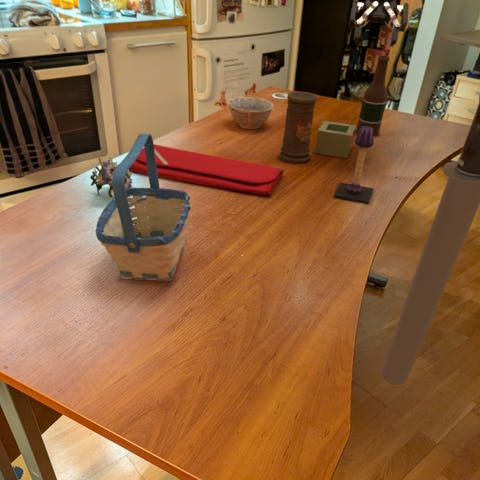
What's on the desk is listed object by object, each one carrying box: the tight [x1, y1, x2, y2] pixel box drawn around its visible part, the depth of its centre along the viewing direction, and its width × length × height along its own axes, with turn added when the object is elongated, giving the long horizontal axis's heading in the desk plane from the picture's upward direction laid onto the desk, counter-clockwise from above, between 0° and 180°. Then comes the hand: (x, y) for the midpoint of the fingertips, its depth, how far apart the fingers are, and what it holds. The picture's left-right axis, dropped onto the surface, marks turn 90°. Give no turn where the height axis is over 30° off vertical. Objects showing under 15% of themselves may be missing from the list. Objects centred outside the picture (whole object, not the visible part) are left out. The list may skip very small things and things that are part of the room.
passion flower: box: [89, 157, 134, 199], centre depth 114 cm, size 11×11×12 cm
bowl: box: [227, 96, 275, 130], centre depth 160 cm, size 16×16×8 cm
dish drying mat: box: [128, 143, 284, 197], centre depth 128 cm, size 16×41×4 cm, turn 72°
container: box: [279, 91, 318, 164], centre depth 136 cm, size 9×9×18 cm
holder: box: [314, 120, 357, 159], centre depth 146 cm, size 10×10×7 cm
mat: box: [333, 182, 374, 205], centre depth 124 cm, size 9×9×1 cm
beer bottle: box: [356, 55, 390, 137], centre depth 155 cm, size 8×8×24 cm
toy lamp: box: [346, 126, 375, 194], centre depth 118 cm, size 5×5×17 cm
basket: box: [95, 133, 192, 282], centre depth 86 cm, size 21×16×24 cm
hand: (375, 43), depth 116 cm, fingers open, 8 cm apart
